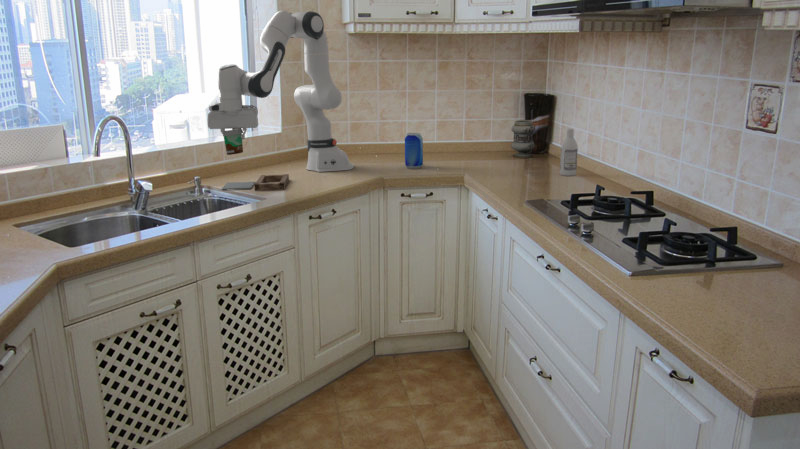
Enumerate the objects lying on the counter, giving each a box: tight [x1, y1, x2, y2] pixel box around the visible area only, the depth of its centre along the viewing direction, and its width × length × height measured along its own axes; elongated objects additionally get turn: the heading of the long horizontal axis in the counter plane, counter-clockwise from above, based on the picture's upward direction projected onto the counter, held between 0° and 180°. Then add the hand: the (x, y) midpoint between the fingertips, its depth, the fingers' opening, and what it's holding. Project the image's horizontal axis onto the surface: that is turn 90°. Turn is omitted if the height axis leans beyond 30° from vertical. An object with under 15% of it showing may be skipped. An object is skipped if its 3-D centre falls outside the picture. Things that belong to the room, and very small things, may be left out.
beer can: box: [404, 132, 424, 170], centre depth 302 cm, size 8×8×16 cm
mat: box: [221, 181, 256, 191], centre depth 272 cm, size 12×12×1 cm
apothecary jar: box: [510, 119, 536, 159], centre depth 323 cm, size 12×12×18 cm
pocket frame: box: [254, 173, 290, 191], centre depth 274 cm, size 12×18×2 cm, turn 3°
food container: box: [222, 128, 244, 156], centre depth 267 cm, size 12×6×10 cm, turn 175°
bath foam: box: [559, 128, 579, 177], centre depth 279 cm, size 7×7×20 cm
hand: (234, 139), depth 267 cm, fingers closed on food container, 5 cm apart
